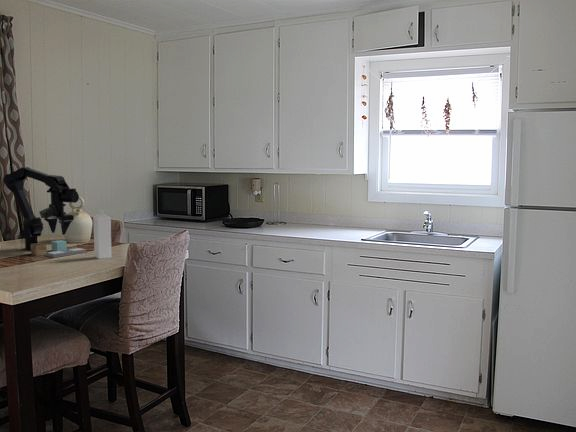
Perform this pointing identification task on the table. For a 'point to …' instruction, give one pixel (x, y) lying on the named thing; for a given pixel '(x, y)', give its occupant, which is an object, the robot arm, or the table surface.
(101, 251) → the milk
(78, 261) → the table surface
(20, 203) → the robot arm
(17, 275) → the table surface
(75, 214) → the jug
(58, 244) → the teal block
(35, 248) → the walnut block
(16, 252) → the table surface
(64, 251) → the baseplate
